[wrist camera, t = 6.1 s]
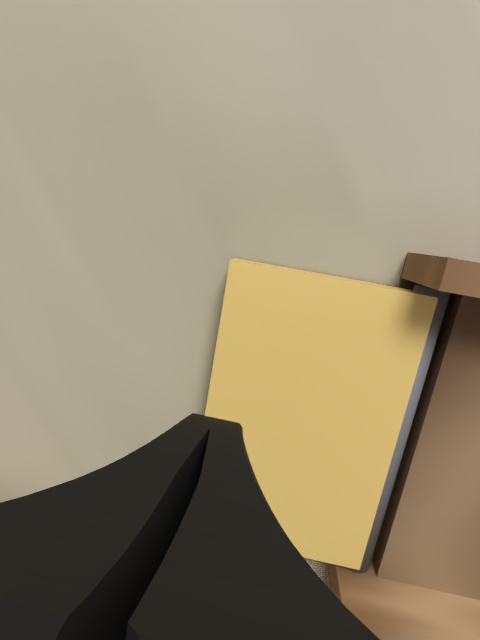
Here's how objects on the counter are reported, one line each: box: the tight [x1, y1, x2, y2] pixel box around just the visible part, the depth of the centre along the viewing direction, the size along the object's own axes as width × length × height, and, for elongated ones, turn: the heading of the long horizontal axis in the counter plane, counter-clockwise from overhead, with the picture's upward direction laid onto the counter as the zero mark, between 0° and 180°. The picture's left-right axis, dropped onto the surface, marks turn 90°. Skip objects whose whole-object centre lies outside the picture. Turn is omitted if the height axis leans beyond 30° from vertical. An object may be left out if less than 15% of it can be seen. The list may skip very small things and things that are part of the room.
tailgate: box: [205, 258, 451, 573], centre depth 13 cm, size 1×10×6 cm
